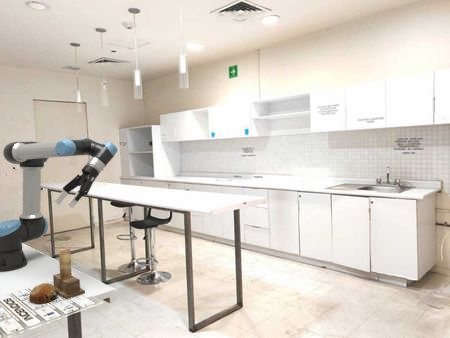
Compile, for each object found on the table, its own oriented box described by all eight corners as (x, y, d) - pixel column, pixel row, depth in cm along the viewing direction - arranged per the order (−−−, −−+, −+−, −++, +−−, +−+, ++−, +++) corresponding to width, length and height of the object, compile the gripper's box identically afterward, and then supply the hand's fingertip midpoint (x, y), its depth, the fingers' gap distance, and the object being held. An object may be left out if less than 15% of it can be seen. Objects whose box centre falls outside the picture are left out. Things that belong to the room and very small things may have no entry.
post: (58, 277, 147) (56, 250, 146) (68, 274, 151) (67, 247, 150) (63, 280, 145) (61, 252, 144) (73, 277, 148) (72, 249, 147)
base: (49, 289, 150) (48, 275, 150) (67, 283, 156) (67, 270, 156) (65, 299, 140) (65, 285, 139) (85, 293, 146) (84, 279, 145)
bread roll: (53, 300, 147) (49, 282, 149) (63, 296, 141) (58, 277, 143) (28, 309, 140) (24, 290, 141) (38, 305, 134) (33, 285, 135)
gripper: (112, 175, 160) (82, 212, 149) (85, 172, 176) (57, 206, 166) (101, 164, 155) (69, 202, 145) (75, 163, 172) (45, 197, 161)
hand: (63, 204), depth 155 cm, fingers open, 13 cm apart
